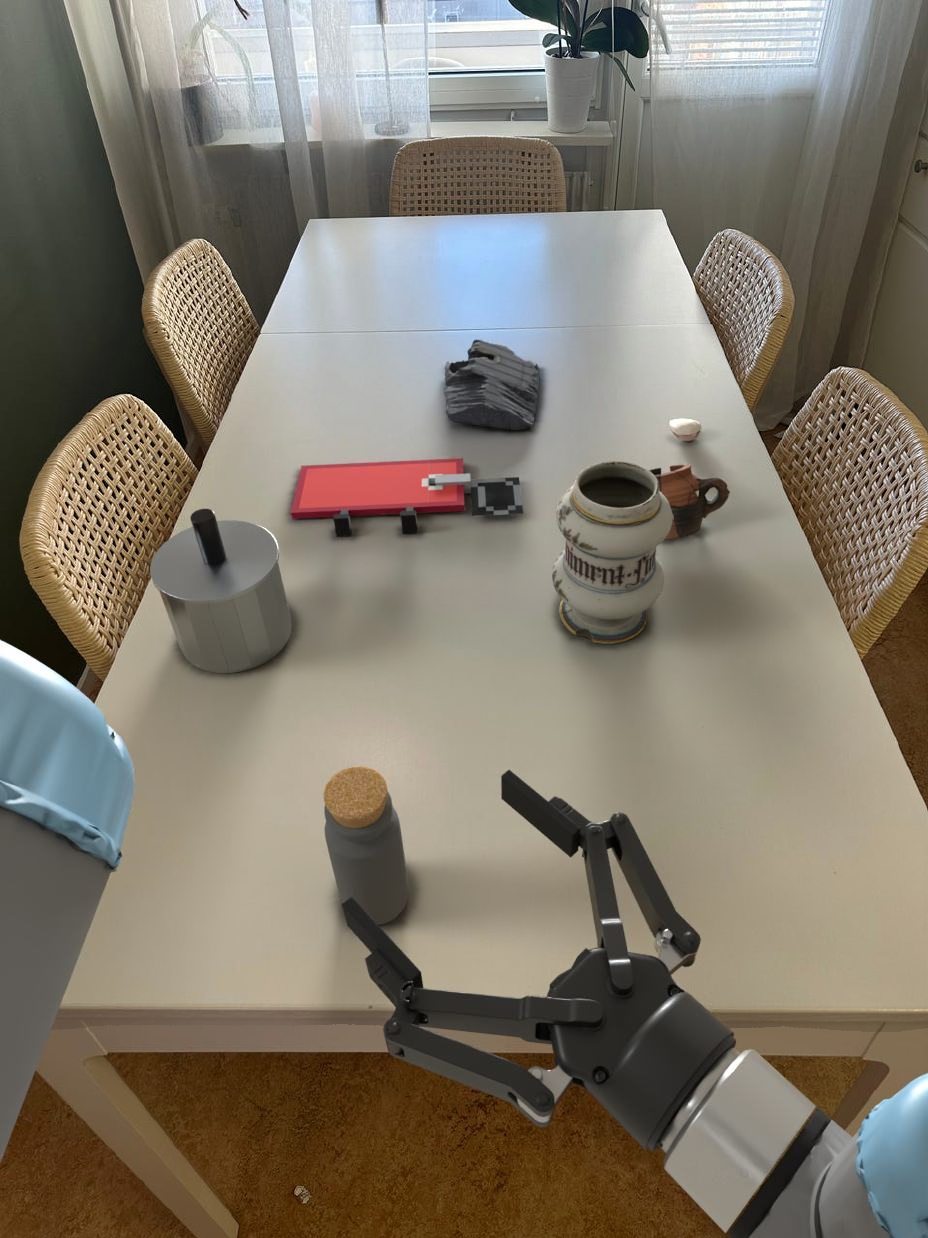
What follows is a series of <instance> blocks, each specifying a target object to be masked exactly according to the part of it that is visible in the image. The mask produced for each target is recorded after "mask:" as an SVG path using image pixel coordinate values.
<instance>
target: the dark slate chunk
mask: <svg viewBox="0 0 928 1238" xmlns="http://www.w3.org/2000/svg"><path fill="white" fill-rule="evenodd" d="M444 382H445V388H444V397H445V401H446V409H445V414H446V416H447V418H448V420H449V421H450V422H451V423H452V424H457V425H458V424H459V425H460V424H461V425H464V424H465V425H469V426H479V427H481V426H482V427H483V426H484V427H485V426H486V427H489V428H494V429H504V430H509V431H510V430H511V431H523V430H530V429H532V428H533V427H534V424H535V417H536V411H537V409H538V407H537V406H538V400H539V398H538V395H539V387H540V384H539V382H540V368H539V365H538V364H537V363H533V362H532V361H531V360H525V359H524V358H522V357H520V356H519V355H517V354H516V353H515V351H514V350H512V349H511V348H509V347H508V346H506V345H503V344H499V343H493V342H488V341H485V340H482V339H474V340H473V342H472V343H471V346H470V347H469V348H468V349H467V360H464V359H463V360H460V361H459V360H455V361H454V360H453V361H452V360H451V361H447V362H445V366H444Z"/></svg>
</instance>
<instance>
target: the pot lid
mask: <svg viewBox="0 0 928 1238" xmlns="http://www.w3.org/2000/svg"><path fill="white" fill-rule="evenodd" d="M189 518H190V522H191V525H192V526H191V527H187V528H186V529H184V530H182V531H180V532H178V533H177V534H175V535H173V536H172V537H170V538H169V539H168V540H166V541H165V542H164V543H163V544H162V545H161V546H160V547H159V548H158V549H157V551H155V554H154V555H153V557H152V560H151V563H150V565H149V566H150V568H149V573H150V577H151V580H152V583H153V585H154V586H155V588H156V589H157V591H158V592H159V593H160V592H161V593H162V594H164V595H165V596H167V597H169V598H171V599H174V600H177V601H180V602H185V603H192V604H208V603H216V602H222V601H226V600H230V599H233V598H236V597H238V596H241V595H243V594H245V593H247V592H249V591H251V590H253V589H254V588H256V587H257V586H259V585H260V584H261V583H263V582H264V581H265V580H266V579H267V578H268V577H269V576H270V575H271V573H272V572H273V571H274V569H275V567H276V565H277V563H278V564H279V559H280V548H279V545H278V541H277V540H276V538H275V536H274V535H273V534H272V533H271V532H270V531H269V530H268V529H266V528H265V527H263V526H262V525H258V524H256V523H253V522H250V521H246V520H237V519H223V520H217V517H216V514H215V512H214V510H212V509H210V508H200V509H197V510H195V511H194V512H192V513H191V514H190V517H189Z"/></svg>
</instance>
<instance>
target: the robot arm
mask: <svg viewBox="0 0 928 1238" xmlns="http://www.w3.org/2000/svg"><path fill="white" fill-rule="evenodd" d="M135 778H136V777H135V768H134V764H133V761H132V758H131V755H130V752H129V750H128V748H127V745H126V744H125V741H124V739H122V737H121V735H119V734H118V733H117V732H116V731H115V729H114V728H112V727H111V726H110V725H108V723H107V720H106V717H105V715H104V713H103V711H102V710H101V709H100V708H99V707H98V706H97V705H96V704H95V703H94V702H93V701H92V700H91V699H90V698H89V697H87V696H86V694H84V693H83V692H82V691H81V690H79V689H78V687H76V686H75V685H73V684H72V682H70V681H68V680H67V679H66V678H65V677H63V676H62V675H60V674H59V673H57V672H56V671H55V670H53V669H51V667H49V666H47V665H45V664H44V663H42V662H41V661H39V660H38V659H36V658H35V657H33V656H31V655H30V654H27V653H26V652H24V651H22V650H20V649H18V648H17V647H15V646H13V645H11V644H10V643H7V642H6V641H3V640H2V639H0V1163H2V1159H3V1157H4V1154H5V1151H6V1150H7V1146H8V1144H9V1141H10V1139H11V1136H12V1134H13V1131H14V1128H15V1125H16V1123H17V1120H18V1117H19V1115H20V1113H21V1109H22V1108H23V1105H24V1103H25V1099H26V1096H27V1094H28V1092H29V1088H30V1087H31V1084H32V1080H33V1078H34V1075H35V1072H36V1070H37V1068H38V1065H39V1063H40V1060H41V1058H42V1054H43V1051H44V1049H45V1046H46V1044H47V1041H48V1039H49V1036H50V1033H51V1031H52V1028H53V1025H54V1023H55V1021H56V1017H57V1015H58V1013H59V1009H60V1007H61V1005H62V1002H63V1000H64V996H65V994H66V991H67V989H68V986H69V984H70V980H71V978H72V975H73V973H74V970H75V968H76V965H77V962H78V960H79V957H80V954H81V952H82V949H83V947H84V944H85V941H86V940H87V939H86V938H87V937H88V934H89V931H90V928H91V926H92V923H93V920H94V918H95V915H96V912H97V909H98V907H99V906H100V905H99V904H100V902H101V899H102V897H103V895H104V891H105V889H106V886H107V883H108V881H109V878H110V875H111V873H114V872H117V870H118V868H119V866H120V863H121V862H122V859H123V853H122V852H121V850H122V847H123V842H124V838H125V834H126V830H127V826H128V822H129V818H130V813H131V809H132V805H133V801H134V798H135V791H136V779H135ZM500 779H501V780H500V782H501V783H500V784H501V785H500V787H501V788H500V789H501V790H500V791H501V792H500V793H501V795H500V796H501V800H502V801H503V802H504V803H506V804H507V805H508V806H509V807H510V808H512V809H513V811H515V812H516V813H517V814H518V815H520V816H521V817H522V818H523V819H525V820H526V821H527V822H528V823H529V824H530V825H531V826H532V827H534V828H535V829H536V830H537V831H538V832H540V833H541V834H542V835H543V836H544V837H545V838H547V839H548V840H549V841H550V842H551V843H552V844H554V845H555V846H556V847H557V848H559V849H560V850H561V851H562V852H563V853H564V854H565V855H566V856H568V857H569V858H572V857H573V856H574V855H575V854H577V853H578V852H579V848H580V849H582V852H581V858H583V862H584V868H585V873H586V874H585V875H586V881H587V885H588V892H589V899H590V904H591V911H592V916H593V922H594V930H595V935H596V945H597V947H592V948H590V949H588V947H585V948H584V949H583V950H582V951H581V952H580V953H579V954H578V955H577V956H576V958H575V960H574V962H573V964H572V966H571V967H570V968H568V969H567V970H565V971H563V972H562V973H559V974H558V975H557V976H556V977H555V978H554V979H553V980H552V981H551V982H550V983H549V988H548V991H547V994H546V996H541V995H525V996H523V997H514V996H504V995H495V994H486V993H485V994H484V993H477V992H468V991H467V992H465V991H456V990H447V989H438V988H428V987H424V981H423V976H422V971H421V970H420V969H419V968H418V967H417V965H415V963H413V961H412V960H411V959H410V958H409V957H408V955H406V953H405V952H404V951H403V950H402V949H401V948H400V947H399V946H398V945H397V943H395V942H394V940H393V939H392V938H391V937H390V936H389V935H388V934H387V933H386V932H385V931H384V930H383V929H382V928H381V926H380V925H378V924H377V923H376V922H375V921H374V920H373V919H372V918H371V917H370V916H369V915H368V914H367V912H366V911H365V910H364V909H363V908H362V907H361V906H360V905H359V904H358V903H357V902H356V901H355V899H354V898H353V897H352V896H351V897H350V898H349V899H347V900H346V901H345V902H344V903H341V907H342V911H343V915H344V918H345V923H346V925H347V927H348V928H349V930H351V932H352V933H353V934H354V935H355V936H356V937H357V938H358V939H359V940H360V942H361V943H362V944H363V945H364V946H365V947H366V948H367V950H369V952H370V954H369V955H367V956H366V957H365V958H364V961H365V964H366V965H365V966H366V970H367V972H368V976H369V978H370V980H371V981H372V982H373V983H374V984H375V985H376V987H378V989H379V990H380V991H381V992H382V993H383V994H384V996H385V997H386V998H387V999H388V1001H390V1002H391V1004H392V1005H393V1006H394V1007H395V1010H394V1012H393V1013H392V1015H391V1017H390V1018H389V1019H387V1020H386V1022H385V1023H384V1025H383V1029H382V1031H383V1036H384V1041H385V1045H386V1049H387V1052H388V1053H389V1054H390V1055H391V1056H392V1057H394V1058H396V1059H398V1060H401V1061H403V1062H407V1063H409V1064H412V1065H414V1066H416V1067H419V1068H422V1069H424V1070H426V1071H429V1072H432V1073H434V1074H437V1075H439V1076H442V1077H444V1078H447V1079H450V1080H453V1081H454V1082H458V1083H460V1084H462V1085H465V1086H467V1087H469V1088H473V1089H475V1090H478V1091H480V1092H483V1093H485V1094H488V1095H490V1096H493V1097H495V1098H498V1099H501V1100H503V1101H506V1102H507V1103H508V1102H509V1103H510V1104H511V1105H512V1106H514V1107H515V1108H516V1109H517V1110H518V1111H519V1112H520V1113H521V1114H522V1115H524V1117H526V1118H527V1119H528V1120H529V1121H530V1122H532V1124H534V1125H535V1126H537V1127H539V1128H545V1127H548V1126H550V1125H551V1123H552V1121H553V1118H554V1111H555V1108H556V1107H557V1106H558V1104H559V1103H560V1101H561V1100H562V1099H563V1097H564V1096H565V1094H567V1091H568V1090H569V1089H570V1087H571V1086H572V1085H575V1086H578V1087H580V1088H582V1089H584V1090H586V1091H587V1092H589V1093H590V1095H592V1096H593V1097H594V1099H595V1100H597V1102H598V1103H599V1104H600V1105H601V1106H602V1108H604V1109H605V1110H606V1112H608V1113H609V1115H611V1116H612V1118H613V1119H614V1120H615V1121H617V1123H618V1124H619V1125H620V1126H621V1127H622V1128H623V1129H624V1130H625V1131H626V1132H627V1133H628V1134H629V1135H630V1136H631V1137H632V1139H633V1140H634V1141H636V1142H637V1143H638V1144H639V1146H640V1147H642V1148H643V1150H644V1151H648V1150H650V1151H651V1152H656V1151H658V1150H659V1148H660V1149H661V1150H662V1151H663V1152H664V1153H665V1155H664V1157H663V1160H662V1161H663V1169H664V1170H665V1171H666V1173H667V1174H668V1175H669V1176H670V1178H672V1179H673V1180H674V1181H675V1182H676V1183H677V1184H678V1185H679V1186H680V1187H681V1188H682V1190H684V1192H685V1193H687V1195H688V1196H689V1197H690V1198H691V1199H692V1200H693V1202H695V1203H696V1204H697V1205H698V1206H699V1207H700V1208H701V1210H703V1211H704V1212H705V1213H706V1215H707V1216H709V1218H710V1219H711V1220H712V1221H713V1222H714V1223H715V1224H716V1225H717V1226H718V1227H719V1228H720V1229H721V1230H722V1231H723V1232H724V1233H725V1234H726V1233H727V1232H728V1231H729V1232H728V1234H727V1236H728V1237H729V1238H928V1072H927V1073H925V1074H922V1075H920V1076H918V1077H916V1078H915V1079H913V1080H912V1081H910V1082H908V1084H906V1085H905V1086H904V1087H903V1088H901V1089H900V1090H899V1091H898V1092H896V1094H894V1095H893V1096H891V1097H890V1098H886V1099H882V1101H880V1102H879V1103H878V1104H876V1105H875V1106H873V1108H872V1109H870V1113H868V1114H867V1115H866V1116H865V1117H864V1118H863V1120H862V1122H861V1124H860V1127H859V1129H858V1130H857V1131H856V1133H854V1135H853V1136H852V1135H850V1134H849V1132H847V1131H845V1129H843V1127H841V1126H840V1125H838V1124H837V1123H836V1122H835V1121H834V1120H833V1119H831V1118H830V1117H829V1116H828V1114H827V1113H825V1112H824V1111H823V1110H822V1109H821V1108H820V1107H817V1106H816V1105H815V1103H813V1102H812V1101H811V1100H810V1099H809V1098H808V1097H807V1096H806V1095H805V1094H803V1092H801V1091H800V1090H799V1089H798V1088H797V1087H796V1086H795V1085H794V1084H792V1082H790V1081H789V1079H787V1078H786V1077H784V1075H783V1074H782V1073H780V1071H778V1070H777V1069H776V1068H775V1067H773V1065H772V1064H770V1063H769V1062H768V1061H767V1060H766V1059H765V1058H764V1057H763V1056H762V1055H760V1053H759V1052H758V1051H756V1050H755V1049H754V1048H753V1049H744V1050H743V1051H742V1052H739V1051H738V1050H737V1049H736V1048H735V1047H736V1044H737V1039H736V1038H735V1032H733V1030H732V1029H731V1028H729V1027H728V1026H727V1025H726V1024H724V1023H723V1022H722V1021H721V1020H720V1019H719V1018H718V1017H717V1016H716V1015H714V1013H712V1012H711V1011H710V1010H708V1009H707V1008H706V1007H705V1005H703V1004H702V1003H700V1001H699V1000H697V999H696V998H695V997H694V996H693V995H692V994H691V993H689V992H687V991H685V990H684V989H682V988H681V987H680V986H679V985H678V984H677V983H676V982H675V980H674V978H673V977H672V975H673V974H674V973H675V972H677V971H678V970H679V969H680V968H681V967H683V968H689V967H691V966H693V964H694V963H695V962H696V958H697V954H698V952H699V949H700V945H701V941H702V938H701V935H700V934H699V933H698V931H697V930H696V929H695V928H694V927H692V926H691V924H690V923H689V922H687V920H686V919H685V918H684V917H682V916H681V914H680V913H679V912H678V911H677V910H676V908H675V906H674V904H673V902H672V900H671V898H670V896H669V894H668V892H667V890H666V888H665V886H664V884H663V883H662V880H661V879H660V876H659V874H658V873H657V871H656V868H655V867H654V865H653V863H652V861H651V859H650V857H649V855H648V853H647V851H646V849H645V847H644V845H643V844H642V841H641V839H640V837H639V835H638V833H637V832H636V829H635V828H634V826H633V824H632V822H631V819H630V818H629V816H628V815H627V814H626V813H624V812H620V811H618V812H614V813H613V814H612V815H611V816H610V818H609V819H607V820H604V821H601V822H593V821H591V820H590V819H588V818H587V817H586V816H584V815H583V814H582V813H581V812H579V811H578V810H577V809H575V807H573V806H572V805H570V804H569V803H568V802H567V801H565V800H564V799H563V798H561V797H558V796H555V795H554V796H553V797H552V798H550V799H549V800H547V799H546V798H545V797H544V796H542V795H541V794H540V793H539V792H537V791H536V790H535V789H534V788H532V787H531V786H530V785H529V784H527V783H526V782H525V781H524V780H523V779H521V777H519V776H517V774H516V773H514V772H513V771H512V770H511V769H508V770H506V771H505V772H504V773H503V774H501V777H500ZM609 849H611V852H612V854H613V855H614V857H615V859H616V862H617V864H618V867H619V868H620V870H621V872H622V874H623V876H624V879H625V880H626V883H627V884H628V887H629V889H630V891H631V893H632V895H633V898H634V899H635V901H636V904H637V905H638V907H639V910H640V912H641V914H642V916H643V918H644V921H645V922H646V924H647V926H648V929H649V931H650V933H651V934H652V936H653V938H655V940H654V945H653V947H654V950H655V952H656V954H657V956H658V957H657V956H654V955H648V954H643V953H638V952H631V951H629V950H628V945H627V939H626V935H625V929H624V924H623V920H622V919H621V916H620V911H619V905H618V901H617V900H618V899H617V895H616V889H615V885H614V880H613V879H614V878H613V874H612V868H611V863H610V858H609V853H608V850H609ZM427 1028H429V1029H427ZM430 1029H438V1030H439V1029H440V1030H449V1031H457V1032H465V1033H466V1032H468V1033H476V1034H483V1035H484V1034H485V1035H492V1036H503V1037H511V1038H519V1039H522V1040H523V1041H525V1042H527V1043H534V1044H545V1045H551V1048H552V1054H553V1058H554V1059H553V1060H554V1064H555V1067H554V1068H552V1069H545V1068H543V1067H541V1066H537V1065H535V1066H532V1067H529V1069H526V1068H524V1067H523V1066H521V1065H520V1064H518V1063H517V1062H515V1061H512V1060H509V1059H507V1058H504V1057H501V1056H500V1055H496V1054H494V1053H491V1052H489V1051H485V1050H483V1049H481V1048H478V1047H475V1046H473V1045H470V1044H468V1043H465V1042H462V1041H460V1040H457V1039H454V1038H452V1037H448V1036H446V1035H444V1034H441V1033H438V1032H436V1031H433V1030H430ZM816 1107H817V1109H816ZM815 1109H816V1110H815ZM814 1110H815V1111H814ZM813 1112H814V1113H813ZM810 1116H811V1117H810ZM809 1117H810V1118H809ZM808 1119H809V1120H808ZM807 1120H808V1121H807ZM805 1123H806V1124H805ZM803 1126H804V1127H803ZM802 1127H803V1128H802ZM800 1130H801V1131H800ZM795 1137H796V1138H795ZM792 1141H793V1142H792ZM789 1145H790V1146H789ZM785 1151H786V1152H785ZM784 1152H785V1153H784ZM783 1154H784V1155H783ZM782 1155H783V1156H782ZM780 1158H781V1159H780ZM779 1159H780V1160H779ZM776 1163H777V1164H776ZM775 1165H776V1166H775ZM774 1166H775V1167H774ZM773 1168H774V1169H773ZM772 1169H773V1170H772ZM767 1176H768V1177H767ZM765 1179H766V1180H765ZM764 1180H765V1181H764ZM763 1181H764V1182H763ZM757 1190H758V1191H757ZM756 1191H757V1192H756ZM755 1193H756V1194H755ZM754 1194H755V1195H754ZM752 1197H753V1198H752ZM751 1198H752V1199H751ZM750 1200H751V1201H750ZM749 1201H750V1202H749ZM748 1203H749V1204H748ZM744 1208H745V1209H744ZM743 1209H744V1210H743ZM742 1211H743V1212H742ZM741 1212H742V1213H741ZM740 1214H741V1216H740ZM738 1217H739V1218H738ZM737 1218H738V1219H737ZM736 1220H737V1221H736ZM735 1221H736V1222H735ZM734 1222H735V1223H734ZM733 1223H734V1224H733ZM732 1225H733V1226H732ZM731 1227H732V1228H731ZM730 1228H731V1229H730ZM729 1229H730V1230H729Z"/></svg>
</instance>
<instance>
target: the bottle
mask: <svg viewBox="0 0 928 1238" xmlns="http://www.w3.org/2000/svg"><path fill="white" fill-rule="evenodd" d="M323 802H324V807H323V808H324V810H323V811H324V819H325V824H324V838H325V842H326V847H327V851H328V855H329V860H330V864H331V867H332V872H333V877H334V880H335V884H336V888H337V891H338V895H339V898H340V899H339V900H340V902H341V904H342V903H344V902H345V901H346V900H347V899H349V898H350V897H351V896H352V897H353V898H354V899H355V901H356V902H357V903H358V904H359V905H360V906H361V907H362V908H363V909H364V910H365V911H366V912H367V914H368V915H369V916H370V917H371V918H372V919H373V920H374V921H375V922H376V923H377V924H378V926H381V925H384V924H387V923H389V922H392V921H393V920H394V919H396V918H397V917H398V916H399V915H401V914H402V912H403V911H404V909H405V908H406V906H407V903H408V899H409V893H410V889H409V887H410V885H409V878H408V871H407V862H406V856H405V848H404V842H403V836H402V835H403V834H402V827H401V823H400V818H399V815H398V813H397V811H396V808H395V807H394V806H393V805H394V804H393V800H392V797H391V794H390V792H389V789H388V784H387V781H386V779H385V777H384V776H383V775H382V774H381V773H380V772H379V771H377V770H375V769H374V768H373V767H368V766H362V765H357V766H350V767H346V768H343V769H341V770H339V771H337V772H336V773H335V774H334V775H332V776H331V778H330V779H329V780H328V781H327V783H326V785H325V786H324V790H323Z"/></svg>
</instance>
